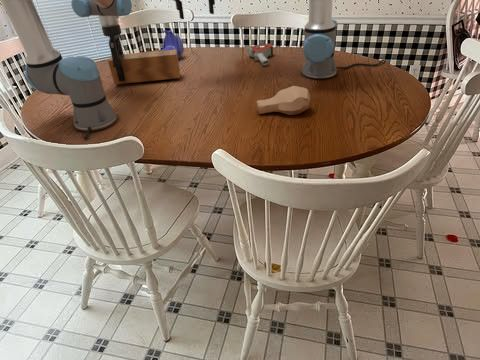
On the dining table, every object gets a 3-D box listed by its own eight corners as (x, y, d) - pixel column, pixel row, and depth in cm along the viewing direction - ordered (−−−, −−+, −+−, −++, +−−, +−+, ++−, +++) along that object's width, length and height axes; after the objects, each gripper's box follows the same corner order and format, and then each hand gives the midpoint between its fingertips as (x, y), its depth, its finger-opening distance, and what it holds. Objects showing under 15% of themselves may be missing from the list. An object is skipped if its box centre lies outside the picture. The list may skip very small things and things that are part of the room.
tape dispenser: (265, 70, 173) (284, 55, 186) (265, 59, 170) (284, 45, 183) (235, 63, 181) (255, 50, 193) (235, 53, 177) (255, 40, 190)
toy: (171, 62, 199) (152, 68, 177) (167, 30, 192) (146, 32, 170) (188, 61, 197) (171, 67, 175) (184, 29, 190) (166, 30, 168)
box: (114, 84, 161) (107, 60, 155) (116, 78, 167) (110, 55, 161) (180, 77, 163) (176, 54, 157) (180, 72, 170) (176, 49, 163)
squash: (314, 116, 128) (313, 95, 122) (259, 125, 130) (256, 105, 124) (308, 99, 136) (307, 78, 129) (257, 108, 138) (253, 88, 131)
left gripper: (115, 29, 142) (129, 84, 156) (122, 18, 159) (134, 69, 172) (96, 31, 142) (111, 86, 155) (105, 20, 158) (118, 70, 172)
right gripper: (215, -47, 143) (219, 10, 156) (156, -42, 134) (165, 19, 146) (223, -47, 138) (227, 12, 150) (162, -41, 128) (172, 22, 141)
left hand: (123, 77), depth 164 cm, fingers closed on box, 8 cm apart
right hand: (197, 16), depth 148 cm, fingers open, 13 cm apart
